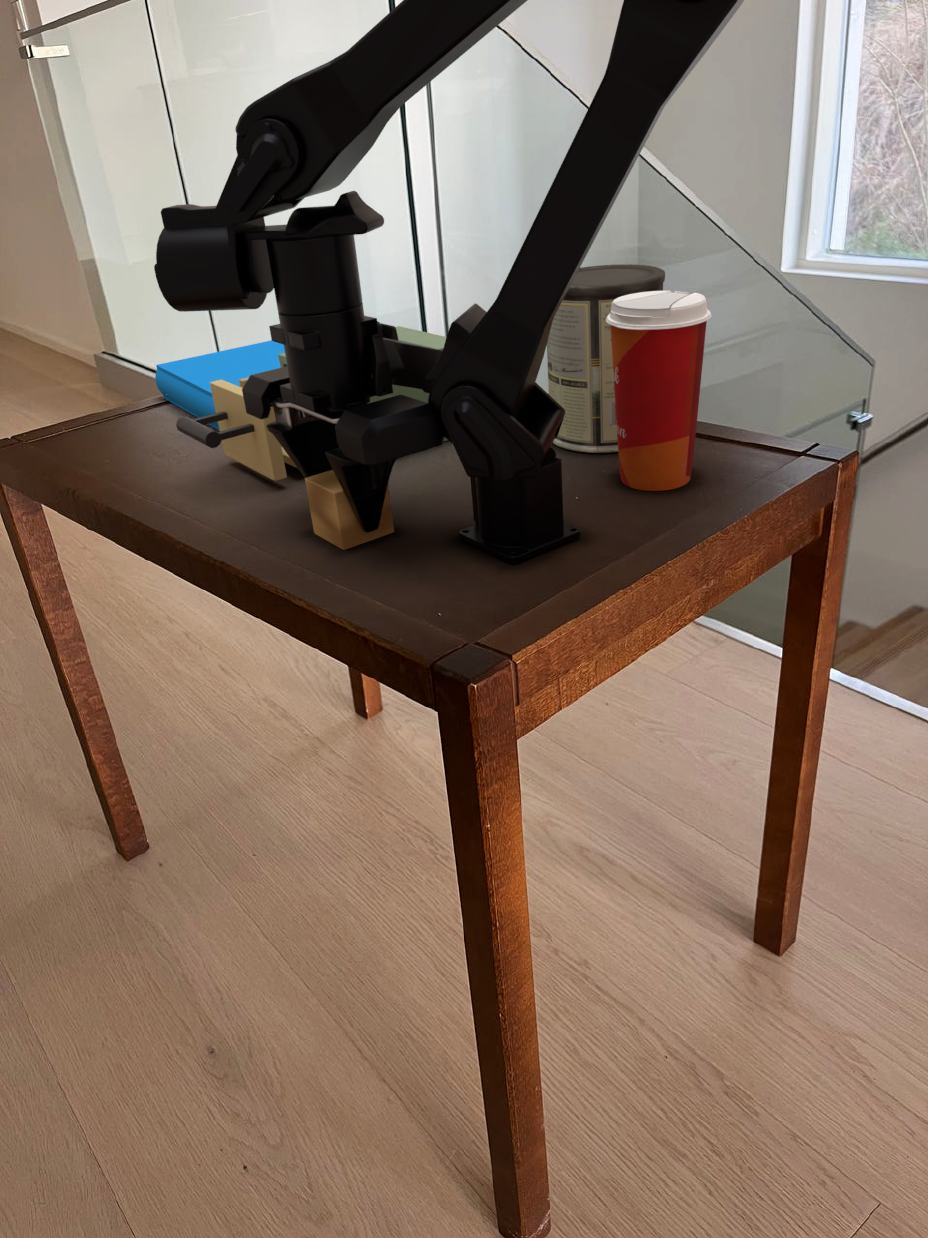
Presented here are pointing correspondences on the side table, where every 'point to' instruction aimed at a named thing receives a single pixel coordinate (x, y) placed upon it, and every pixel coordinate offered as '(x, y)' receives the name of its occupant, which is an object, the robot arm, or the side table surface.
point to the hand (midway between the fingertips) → (352, 520)
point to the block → (341, 513)
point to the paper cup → (657, 384)
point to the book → (213, 374)
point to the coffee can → (590, 353)
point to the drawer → (239, 432)
